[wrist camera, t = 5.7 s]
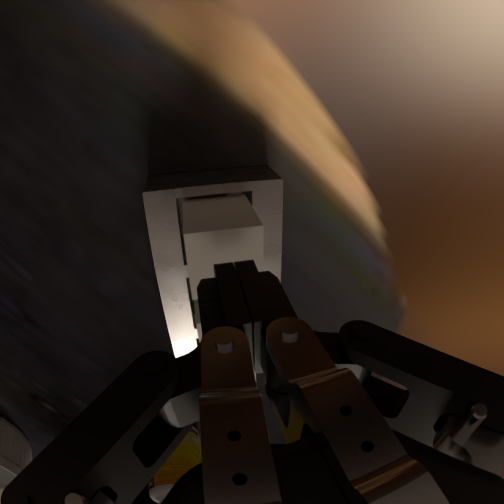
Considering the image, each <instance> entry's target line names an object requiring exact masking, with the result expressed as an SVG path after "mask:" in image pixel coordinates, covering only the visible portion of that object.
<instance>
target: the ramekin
mask: <svg viewBox="0 0 504 504" xmlns="http://www.w3.org/2000/svg"><path fill="white" fill-rule="evenodd" d="M31 461H32V450H31V446H30V444H29V442H28V440H27V438H26V437H25V436H24V434H23V433H22V432H21V431H20V430H19V429H18V428H16V427H15V426H14V425H13V424H11V423H10V422H8V421H7V420H5V419H4V418H2V417H1V416H0V489H1V490H4V489H5V487H6V486H7V485H8V484H9V483H10V482H11V481H12V480H13V479H14V478H15V477H16V476H17V475H18V474H19V473H20V472H21V471H22V470H23V469H24V468H25V467H26V466H27V465H28V464H29V463H30V462H31Z"/></svg>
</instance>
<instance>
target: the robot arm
mask: <svg viewBox="0 0 504 504" xmlns="http://www.w3.org/2000/svg"><path fill="white" fill-rule="evenodd" d="M213 266H214V278H205V279H201V281H200V282H199V284H198V286H197V296H198V305H199V313H200V322H201V330H202V339H201V342H200V343H199V345H198V346H197V347H196V348H195V349H194V350H193V351H191V352H189V353H187V354H185V355H182V356H180V357H177V358H175V357H174V356H173V355H172V354H170V353H168V352H164V351H151V352H148V353H145V354H143V355H141V356H140V357H138V358H137V359H136V360H135V361H134V362H133V363H132V364H131V365H130V366H129V367H128V368H127V369H126V370H125V371H124V372H123V373H122V374H121V375H120V376H118V377H117V378H116V379H115V380H114V381H113V382H112V383H111V384H110V385H109V386H108V387H107V388H106V389H105V390H104V391H103V392H102V393H101V394H100V395H99V396H98V397H97V398H96V399H95V400H94V401H93V402H92V403H91V404H90V405H89V406H88V407H87V408H86V409H85V410H84V411H83V412H82V413H80V414H79V415H78V416H77V417H76V418H75V419H74V420H73V421H72V422H71V423H70V424H69V425H68V426H67V427H66V428H65V429H64V430H63V431H62V432H61V433H60V434H59V435H58V436H57V437H56V438H55V439H54V440H53V441H52V442H51V443H50V444H49V445H48V446H47V447H46V448H45V449H44V450H43V451H42V452H41V453H40V454H39V455H38V456H36V457H35V458H34V459H33V460H32V461H31V462H30V463H29V464H28V465H27V466H26V467H25V468H24V469H23V470H22V471H21V472H20V473H19V474H18V475H17V476H16V477H15V478H14V479H13V480H12V481H11V482H10V483H9V484H8V485H7V486H6V487H5V489H4V490H3V493H2V496H1V504H131V503H132V502H133V501H134V499H135V498H136V497H137V496H138V495H139V493H140V492H141V491H142V490H143V489H144V487H145V486H146V485H147V484H148V483H149V481H150V480H151V479H152V478H153V477H154V475H155V474H156V473H157V472H158V470H159V469H160V468H161V467H162V465H163V464H164V463H165V462H166V460H167V459H168V458H169V457H170V455H171V454H172V453H173V452H174V450H175V449H176V448H177V447H178V445H179V444H180V443H181V441H182V440H183V439H184V438H185V436H186V435H187V434H188V432H189V431H190V430H191V428H192V427H193V424H194V422H196V421H199V420H200V437H201V457H202V463H200V464H198V465H196V466H194V467H193V468H191V469H190V470H188V471H187V472H186V473H185V474H183V475H182V476H181V477H180V478H179V480H178V481H177V482H176V483H175V484H174V486H173V487H172V488H171V490H170V491H169V493H168V494H167V495H166V497H165V498H164V500H163V501H162V502H161V504H504V479H503V478H502V477H501V476H502V472H503V469H504V376H501V375H499V374H496V373H494V372H491V371H489V370H486V369H484V368H481V367H478V366H476V365H473V364H470V363H468V362H466V361H463V360H461V359H458V358H455V357H453V356H451V355H448V354H446V353H443V352H440V351H438V350H436V349H433V348H431V347H428V346H426V345H423V344H421V343H418V342H416V341H414V340H411V339H409V338H406V337H404V336H401V335H399V334H397V333H394V332H392V331H389V330H387V329H384V328H382V327H380V326H377V325H375V324H372V323H370V322H367V321H362V320H355V321H350V322H347V323H345V324H344V325H343V326H342V327H341V328H340V331H339V333H327V332H318V331H314V330H312V328H311V327H310V326H309V324H307V323H306V322H305V321H303V320H301V319H298V317H297V315H296V313H295V311H294V309H293V307H292V305H291V303H290V301H289V299H288V297H287V295H286V294H285V291H284V289H283V287H282V285H281V283H280V281H279V279H278V277H277V276H275V275H274V274H272V273H271V272H270V271H261V272H258V269H257V267H256V265H255V262H254V260H244V261H236V262H234V264H233V262H228V263H220V264H214V265H213ZM253 368H254V369H253ZM254 371H255V374H256V373H262V372H263V373H264V377H265V390H266V393H267V395H268V398H269V400H270V403H271V405H272V407H273V410H274V412H275V415H276V417H277V419H278V422H279V424H280V426H281V429H282V431H283V434H284V437H285V442H286V444H270V440H269V435H268V430H267V425H266V420H265V414H264V409H263V404H262V399H261V394H260V391H259V390H257V386H256V380H255V375H254ZM372 372H374V373H377V374H379V375H381V376H383V377H386V378H388V379H390V380H392V381H395V382H397V383H399V384H401V385H404V386H405V387H407V389H408V390H403V389H400V388H398V387H395V386H393V385H391V384H389V383H387V382H384V381H382V380H380V379H378V378H376V377H373V376H371V374H372ZM425 444H426V445H425ZM427 445H428V446H427ZM430 446H431V447H430ZM432 447H433V448H432Z"/></svg>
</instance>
